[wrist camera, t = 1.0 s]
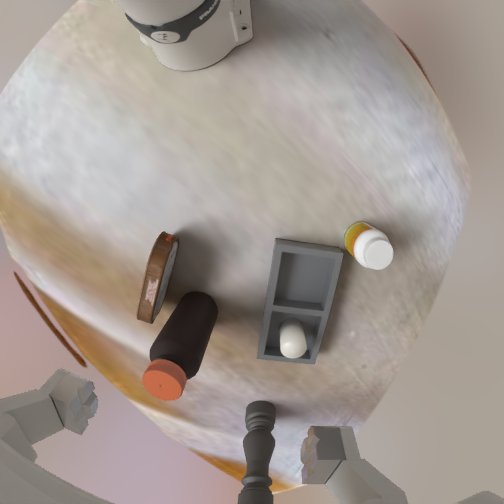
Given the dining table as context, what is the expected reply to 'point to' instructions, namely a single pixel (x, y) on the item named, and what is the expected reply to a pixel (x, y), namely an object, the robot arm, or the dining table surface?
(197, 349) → the vinegar
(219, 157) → the dining table surface
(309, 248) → the caddy
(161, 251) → the tin
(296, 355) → the shaker
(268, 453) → the candle holder
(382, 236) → the supplement bottle
